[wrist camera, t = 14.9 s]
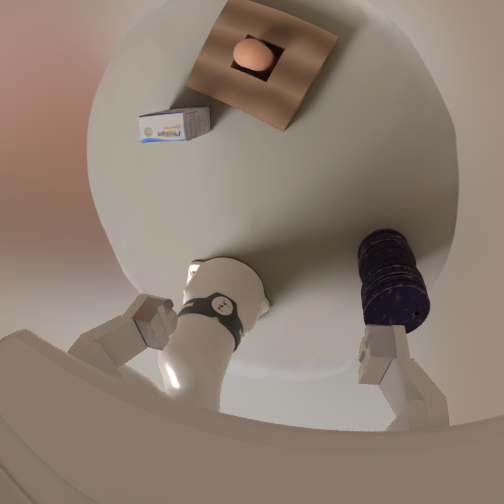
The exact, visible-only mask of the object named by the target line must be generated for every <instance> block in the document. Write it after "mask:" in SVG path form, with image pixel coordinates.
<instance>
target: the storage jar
mask: <svg viewBox="0 0 504 504" xmlns="http://www.w3.org/2000/svg"><path fill="white" fill-rule="evenodd" d="M358 259H359V261H358V265H359V275H360V278H361V281H362V283H363V284H362V289H361V297H362V308H363V315H364V322H365V325H366V326H367V324H381V325H403V326H404V327H405V331H406V334H407V333H410V332H411V331H413V330H415V329H416V328H418V327H419V326H420V325H421V324H422V323H423V322H424V321H425V319H426V318H427V316H428V314H429V311H430V301H429V297H428V295H427V290H426V286H425V284H424V281H423V278H422V275H421V274H420V272H419V271H418V269H417V268H416V260H415V257H414V255H413V252H412V250H411V248H410V246H409V244H408V242H407V240H406V239H405V237H404V236H403V235H402V234H400V233H399V232H397V231H395V230H391V229H381V230H377V231H375V232H373V233H371V234H369V235H368V236H367V237H366V238H365V239H364V240H363V241H362V243H361V245H360V247H359V251H358Z"/></svg>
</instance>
